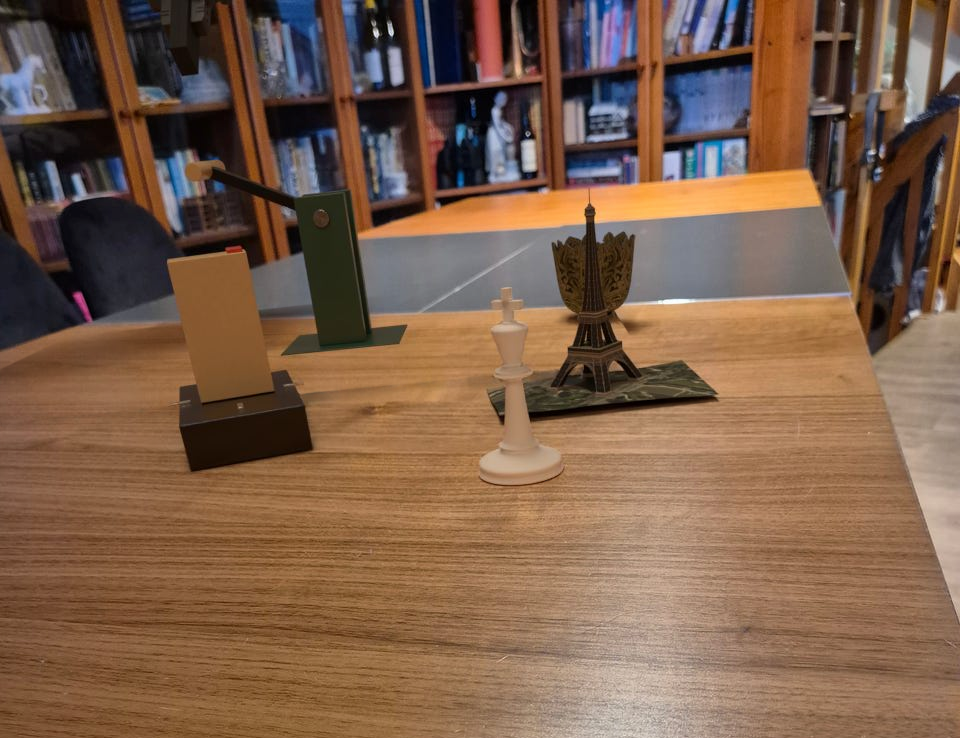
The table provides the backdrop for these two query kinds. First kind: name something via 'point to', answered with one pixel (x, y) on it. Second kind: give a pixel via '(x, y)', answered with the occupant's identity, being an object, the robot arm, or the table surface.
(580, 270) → the cup
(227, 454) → the base
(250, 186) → the lever
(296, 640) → the table surface
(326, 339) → the bracket
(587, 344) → the eiffel tower figurine
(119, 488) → the table surface
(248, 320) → the tan standing plaque
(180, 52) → the robot arm
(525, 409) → the chess piece
